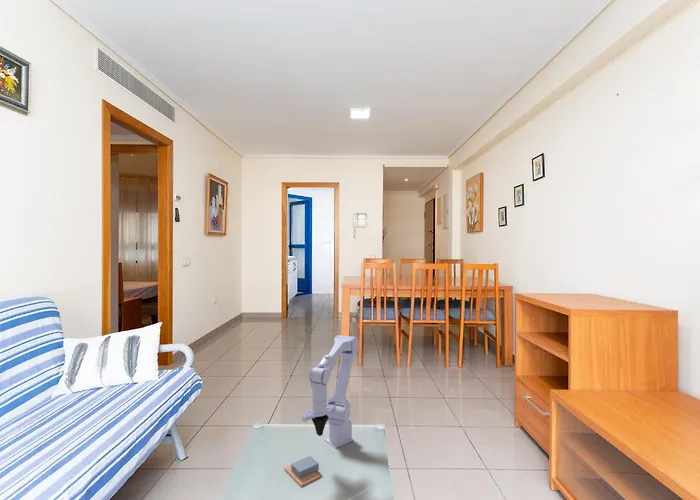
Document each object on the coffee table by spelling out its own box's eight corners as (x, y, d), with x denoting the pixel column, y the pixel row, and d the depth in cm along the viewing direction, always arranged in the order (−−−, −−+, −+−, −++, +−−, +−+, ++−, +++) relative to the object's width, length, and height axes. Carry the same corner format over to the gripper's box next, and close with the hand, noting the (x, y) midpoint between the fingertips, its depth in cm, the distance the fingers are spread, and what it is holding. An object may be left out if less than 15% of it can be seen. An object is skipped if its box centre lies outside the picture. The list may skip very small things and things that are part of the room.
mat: (302, 461, 138) (302, 459, 138) (320, 477, 128) (320, 475, 128) (284, 469, 133) (284, 468, 133) (300, 486, 124) (300, 485, 124)
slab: (310, 455, 136) (291, 463, 131) (318, 463, 131) (299, 472, 127) (310, 462, 136) (291, 470, 131) (318, 470, 132) (299, 479, 127)
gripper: (328, 391, 145) (328, 424, 145) (297, 400, 136) (297, 436, 136) (339, 396, 140) (339, 431, 140) (307, 407, 131) (307, 444, 131)
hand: (319, 434), depth 138 cm, fingers closed
